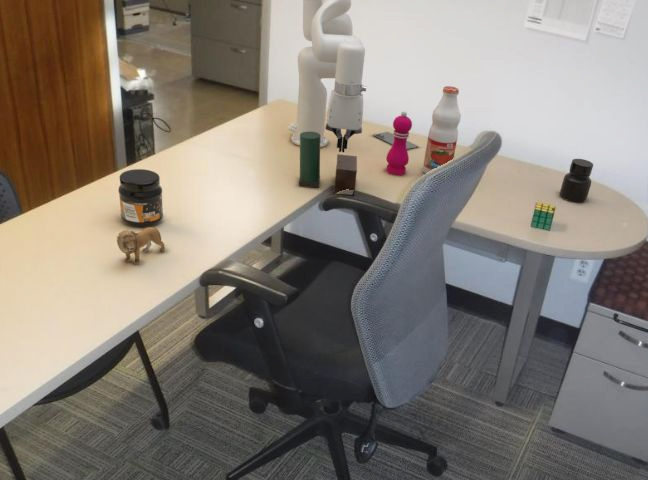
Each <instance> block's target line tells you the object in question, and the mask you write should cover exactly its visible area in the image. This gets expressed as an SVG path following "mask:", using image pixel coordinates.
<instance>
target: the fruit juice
mask: <svg viewBox="0 0 648 480" xmlns="http://www.w3.org/2000/svg"><path fill="white" fill-rule="evenodd" d="M442 88H443V89H442V95H441V98H440V100H439V102H438V104H437V105H436V107H435V108H434V109H433V110H432V114H431V118H432V119H431V121H432V124H431V125H430V127H429V131H428V136H427V140H426V141H427V142H426V147H425V152H424V153H425V154H424V160H423V165H422V171H423V173H424V174H425V175H427V174H426V173H427V172H429V171H431V170H432V169H434V168H437V167H438V166H441V165H443V164H445V163H447V162H448V161H450V160H452V159H453V158H455V153H456V148H457V142H458V137H459V130H458V127H459V125H460V122H461V119H462V115H461V111H460V109H459V103H458V96H459V93H460V90H459V88H458V87H456V86H450V85H446V86H444V87H442ZM453 160H454V159H453Z"/></svg>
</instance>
